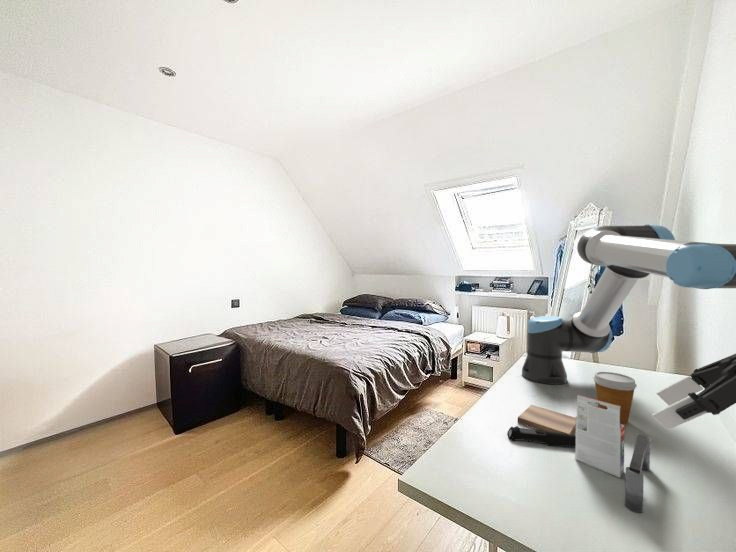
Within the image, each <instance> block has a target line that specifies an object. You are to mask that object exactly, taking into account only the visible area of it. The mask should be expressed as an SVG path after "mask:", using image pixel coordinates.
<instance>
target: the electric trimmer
mask: <svg viewBox="0 0 736 552" xmlns="http://www.w3.org/2000/svg"><path fill="white" fill-rule="evenodd" d="M506 435H507V438H508V440H509V441H511V442H515V441H524V442H525V441H526V442H531V443H541V444H546V445H547V446H549V447H550V446H552V447H575V448H576V434H575V435H574V434H573V435H568V434H561V433H555V432H548V431H541V430H538V429H533V428H532V429H531V428H524V427H519V426H518V425H516V426H514V427H513V426H510V427H509V429H508V430H507V434H506Z"/></svg>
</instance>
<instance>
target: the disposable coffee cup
mask: <svg viewBox="0 0 736 552" xmlns="http://www.w3.org/2000/svg"><path fill="white" fill-rule="evenodd" d="M592 379H593V381H594V384H595V392H596V400H600V401H603V402H607V403H611V404H615V405H618V406H621V407H620V424H622V425H628V424H629V421H630V420H629V419H630V414H631V410H632V404H633V399H634V398H633V397H634V393H635V390H636V388H637V386H638V385H637V384H636V380H635V379H634V378H633V377H631V376H628V375H625V374H622V373H618V372H612V371H597V372H595V373H594V376H592ZM597 407H599V408H603V409H608V408H607V407H606V406H604V405H600V403H597Z"/></svg>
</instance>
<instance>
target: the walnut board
mask: <svg viewBox="0 0 736 552" xmlns="http://www.w3.org/2000/svg"><path fill="white" fill-rule="evenodd" d="M517 423H518V424H521V425H524V426H527V427H528V428H529V427H530V428H532V427H533V428H532V429H535V428H536V429H535V430H540V431H548V432H555V433H561V434H568V435H574V433H576V416H572V415H567V414H565V413H561V412H557V411H555V410H551V409H548V408H544V407H540V406H536V405H533V404H531V405H529V406H528V407H527V408H526V409H525V410H524V411H523V412H521V413H520V415H518V417H517Z"/></svg>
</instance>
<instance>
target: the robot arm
mask: <svg viewBox="0 0 736 552" xmlns="http://www.w3.org/2000/svg"><path fill="white" fill-rule="evenodd" d="M576 249H577V253H578V255H579V257H580V258H581V259H582V260H583V261H584V262H585V263H588V264H590V265H593V266H594V265H595V266H598V267H605V268H604V270H603V273H602V274H601V276H600V278H599V279H598V281H597V283H596V285H595V287H594V288H593V291H592V292H591V294H590V295H589V298H588V300H587V301H586V303H585V305H584V307H583V309H582V310H581V311H578V312H576V313H574V315H573V316H572V318H571V319H570V320H564V319H563V318H562V317H560V316H556V315H550V316H549V315H542V316H534V317H532V318H530V319H529V320H528V322H527V329H526V332H527V342H526V343H527V345H526V346H527V347H526V348H527V349H526V351H527V352H526V353H527V354H526V357H525V360H524V362H523V365H522V368H521V375H522V376H523V377H524V378H525V377H526V378H525V379H527V380H529V379H530V380H529V381H532V382H535V381H536V382H537V383H539V384H546V385H562V384H566V383H567V382H568V374H567V371H566V368H565V365H564V362H563V352H570V353H572V352H573V353H590V354H596V353H602V352H605V351H607V350H609V348H610V347H611V345H612V343H613V340H612V338H613V331H612V329H611V326H610V322H611V321H612V320H613V318H614V317H615V315H616V313H617V312H618V310H619V309H620V308H621V306H622V304H623V303H624V301H625V300H626V298H627V297H628V295H629V294H630V292H632V290H633V288H634V287H635V286H636V284H637V282H638V280H640V279H645V278H647V277H648V276H649V275H655V276H660V277H664V278H668V279H669V280H671V281H673V283H674V284H675V285H676V286H679V287H683V288H689V289H691V288H692V289H697V290H711V289H736V244H735V243H714V242H713V243H711V242H697V241H688V240H687V241H686V240H679V239H678V240H676V237H675V236H674V234H673V233H672V231H671V230H670V229H668V227H665V226H663V225H658V224H657V225H654V224H653V225H650V224H644V225H603V226H602V225H601V226H598V227H594V228H592V229H590V230H587V231H586V232H584V233H583V235H582V236H581V237H580V238H579V240H578V242H577V247H576ZM656 395H657V396H658V397H659V398H660V399H661V400H662V401H664V402H665V404H667V405H668V406H666V407H665V408H663V409H660V410H659V411H655V412H653V413H652V417H653V418H654V419H655V420H656V421H657V422H658V423H659V424H660V425H661V426H662V427H663V428H664V429H665V430H666V431H670V430H671V429H674V428H676V427H678V426H680V425H683V424H686V423H687V422H689V421H692V420H694V419H696V418H698V417H701V416H702V415H705V414H710V413H711V414H712V415H713V416H717V415H719V414H721V413H723V411H725V410H727V409H728V408H730V407H732V406H733V405H736V353H734V354H731V355H728V356H726V357H724V358H722V359H718V360H716V361H713V362H711V363H709V364H706V365H703V366H701V367H698V368H696V369H694V370H693V371H692V373H691V374H690V375H688V376H686V377H685V378H682V379H681V380H678V381H676V382H674V383H671V385H669V386H667V387H665V388H663V389H661V390H659V391H657V392H656Z"/></svg>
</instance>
